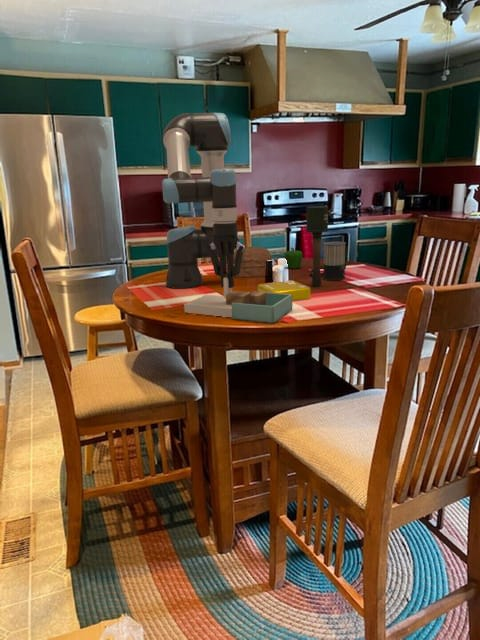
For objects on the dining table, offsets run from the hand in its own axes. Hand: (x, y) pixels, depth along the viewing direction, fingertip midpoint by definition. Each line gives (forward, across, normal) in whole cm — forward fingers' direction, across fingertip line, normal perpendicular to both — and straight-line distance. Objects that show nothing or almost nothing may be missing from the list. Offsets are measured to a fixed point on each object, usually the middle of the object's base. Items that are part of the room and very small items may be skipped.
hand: (228, 297), depth 151 cm
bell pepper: (+5, -7, +79) cm, 80 cm away
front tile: (+1, +9, 0) cm, 9 cm away
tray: (+5, +12, 0) cm, 13 cm away
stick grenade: (+5, +15, +44) cm, 47 cm away
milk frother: (+5, +14, +62) cm, 64 cm away
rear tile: (+2, +4, 0) cm, 4 cm away
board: (+5, -4, 0) cm, 6 cm away
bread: (+5, -22, +66) cm, 70 cm away
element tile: (+5, +9, +24) cm, 27 cm away
